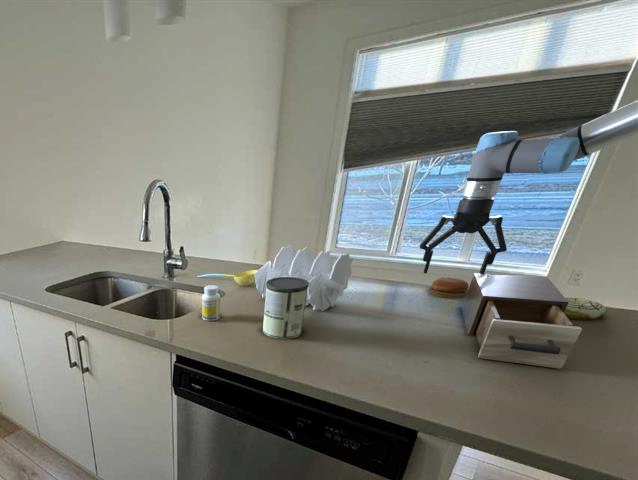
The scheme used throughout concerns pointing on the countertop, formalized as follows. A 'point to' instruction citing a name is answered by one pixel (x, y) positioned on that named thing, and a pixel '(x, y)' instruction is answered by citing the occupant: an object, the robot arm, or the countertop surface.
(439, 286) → the burger
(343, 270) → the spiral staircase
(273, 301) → the coffee can
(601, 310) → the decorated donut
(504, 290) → the cabinet
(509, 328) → the drawer
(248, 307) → the countertop surface
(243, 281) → the ladle
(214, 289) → the supplement bottle
